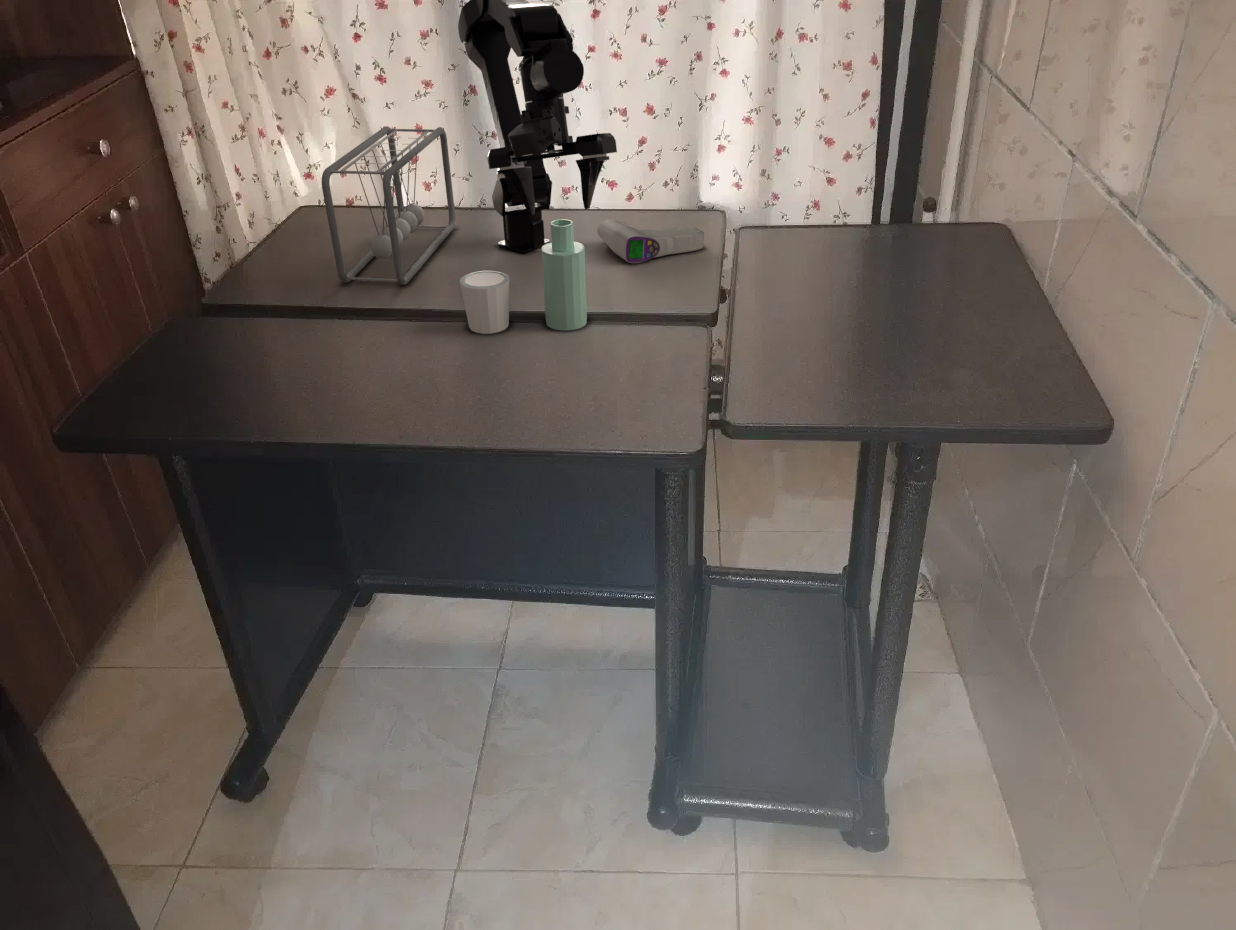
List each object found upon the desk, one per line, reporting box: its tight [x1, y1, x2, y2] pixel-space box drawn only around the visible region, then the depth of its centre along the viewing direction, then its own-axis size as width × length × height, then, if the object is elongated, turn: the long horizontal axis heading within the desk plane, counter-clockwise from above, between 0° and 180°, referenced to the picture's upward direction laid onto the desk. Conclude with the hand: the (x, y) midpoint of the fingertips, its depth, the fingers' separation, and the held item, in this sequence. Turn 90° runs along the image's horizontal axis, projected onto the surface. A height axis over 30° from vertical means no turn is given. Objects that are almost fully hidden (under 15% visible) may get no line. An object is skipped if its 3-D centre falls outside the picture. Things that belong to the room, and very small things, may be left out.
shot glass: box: [459, 270, 510, 335], centre depth 134 cm, size 7×7×7 cm
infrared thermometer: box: [597, 219, 705, 264], centre depth 161 cm, size 5×12×15 cm
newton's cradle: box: [321, 125, 456, 286], centre depth 156 cm, size 30×10×18 cm, turn 172°
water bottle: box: [540, 218, 588, 332], centre depth 132 cm, size 6×6×14 cm
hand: (559, 212), depth 143 cm, fingers open, 9 cm apart
